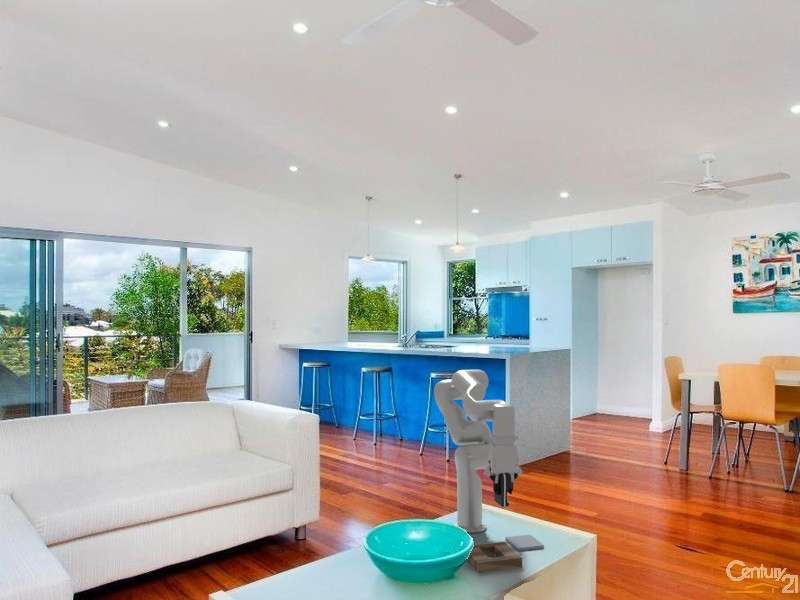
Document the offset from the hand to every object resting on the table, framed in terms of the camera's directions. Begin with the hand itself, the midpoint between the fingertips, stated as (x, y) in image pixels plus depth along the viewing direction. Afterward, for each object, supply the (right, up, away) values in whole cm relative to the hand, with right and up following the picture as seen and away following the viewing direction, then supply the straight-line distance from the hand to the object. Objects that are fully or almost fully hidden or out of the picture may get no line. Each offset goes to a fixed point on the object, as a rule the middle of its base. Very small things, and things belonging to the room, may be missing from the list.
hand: (503, 492), depth 196 cm
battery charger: (0, -4, 0) cm, 4 cm away
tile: (+9, -21, +8) cm, 24 cm away
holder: (-5, -21, -6) cm, 22 cm away
